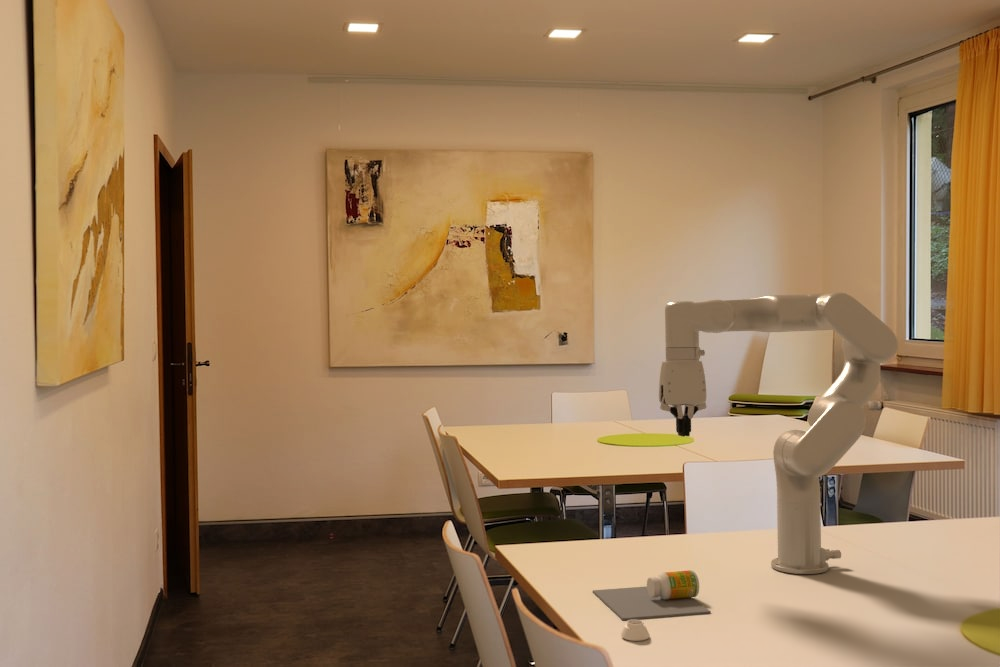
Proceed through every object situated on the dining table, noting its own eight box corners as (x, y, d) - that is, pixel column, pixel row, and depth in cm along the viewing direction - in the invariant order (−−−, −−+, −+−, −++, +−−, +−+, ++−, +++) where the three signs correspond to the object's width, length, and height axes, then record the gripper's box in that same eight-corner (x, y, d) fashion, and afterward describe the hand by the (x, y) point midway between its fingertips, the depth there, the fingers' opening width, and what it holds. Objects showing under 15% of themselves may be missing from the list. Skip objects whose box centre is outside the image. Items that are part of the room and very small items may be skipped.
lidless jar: (651, 642, 170) (646, 633, 175) (651, 625, 170) (646, 617, 175) (623, 643, 170) (619, 634, 175) (623, 626, 170) (619, 618, 175)
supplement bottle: (702, 585, 193) (657, 589, 190) (695, 602, 196) (651, 606, 194) (692, 564, 197) (649, 568, 195) (686, 581, 200) (643, 585, 198)
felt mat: (672, 586, 206) (672, 584, 206) (710, 613, 186) (710, 611, 186) (592, 592, 202) (592, 590, 202) (622, 620, 183) (622, 618, 183)
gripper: (706, 354, 223) (707, 432, 223) (645, 355, 220) (647, 435, 220) (719, 355, 215) (721, 436, 216) (657, 356, 213) (658, 438, 213)
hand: (683, 435), depth 218 cm, fingers closed
